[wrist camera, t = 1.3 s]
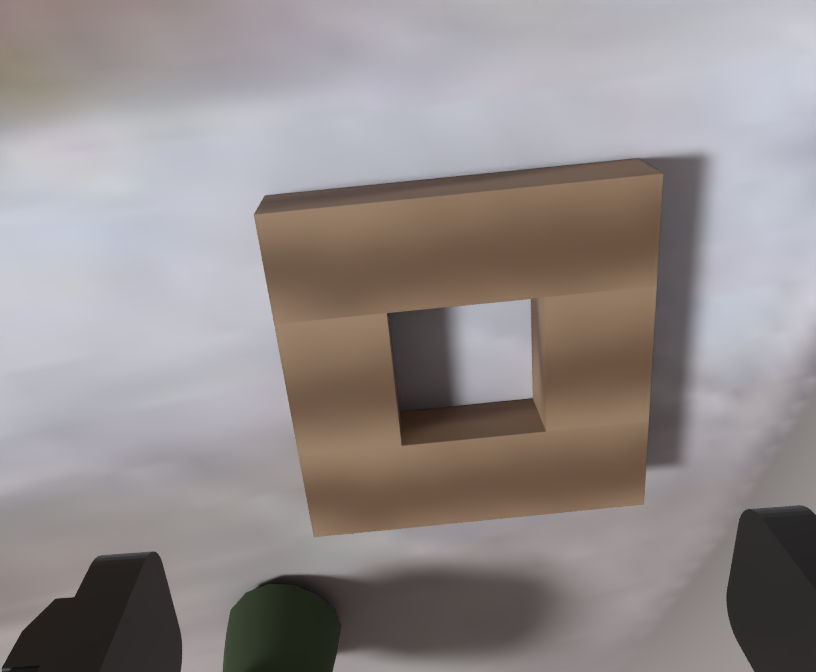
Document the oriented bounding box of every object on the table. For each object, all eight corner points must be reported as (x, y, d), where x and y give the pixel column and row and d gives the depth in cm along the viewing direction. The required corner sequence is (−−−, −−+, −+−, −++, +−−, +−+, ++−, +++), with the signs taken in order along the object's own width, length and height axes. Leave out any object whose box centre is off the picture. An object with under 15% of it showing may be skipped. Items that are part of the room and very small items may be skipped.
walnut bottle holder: (264, 195, 31) (253, 214, 28) (638, 158, 31) (663, 173, 28) (318, 498, 38) (313, 537, 35) (624, 467, 37) (643, 504, 35)
